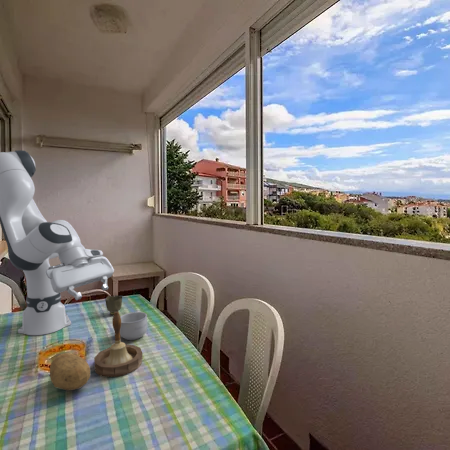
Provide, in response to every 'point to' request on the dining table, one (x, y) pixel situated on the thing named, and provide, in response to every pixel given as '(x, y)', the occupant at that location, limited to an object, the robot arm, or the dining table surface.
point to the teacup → (133, 325)
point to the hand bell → (117, 345)
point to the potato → (69, 371)
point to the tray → (121, 368)
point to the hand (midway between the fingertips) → (93, 293)
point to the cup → (113, 303)
